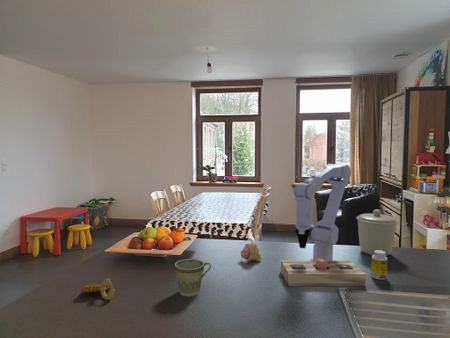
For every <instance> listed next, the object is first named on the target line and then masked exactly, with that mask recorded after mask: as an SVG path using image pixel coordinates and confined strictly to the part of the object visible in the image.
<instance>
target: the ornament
mask: <svg viewBox="0 0 450 338" xmlns="http://www.w3.org/2000/svg"><path fill="white" fill-rule="evenodd" d="M109 289H110V290H109ZM108 290H109V293H108V294H107V293H106V291H108ZM115 291H116V289H114V287H113V283H112V282H111V278H110V277H109V278H105V279H104V280H103V281H102V282H101V283H99V284H98V283H97V284H86V285H84V286H83V287H82V288H81V292H83V293H90V292H91V293H92V292H94V293H96V292H100V294H101V298H102V299H104V300H106V301H107V300H108V301H109V300H111V299H112V298H113V297H114V295H115Z"/></svg>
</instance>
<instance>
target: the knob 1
mask: <svg viewBox="0 0 450 338" xmlns="http://www.w3.org/2000/svg"><path fill="white" fill-rule="evenodd" d="M292 269H304V266H303V265H300V264H293V265H292Z"/></svg>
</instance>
